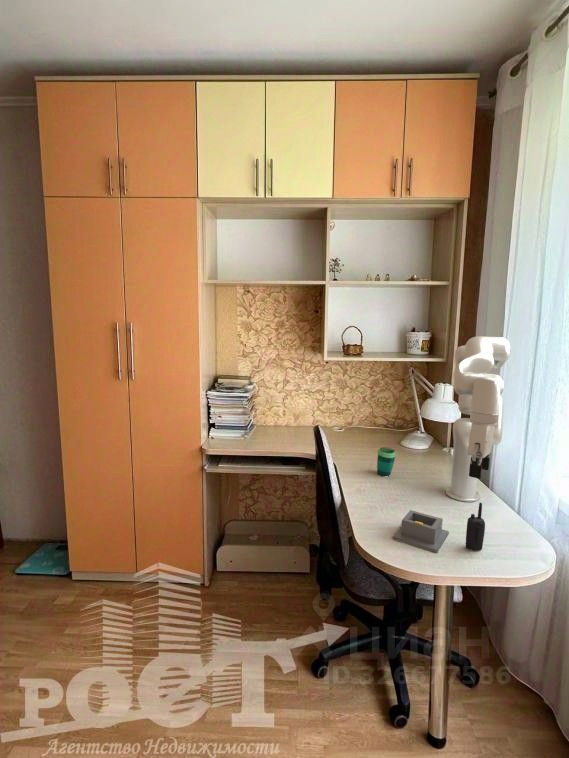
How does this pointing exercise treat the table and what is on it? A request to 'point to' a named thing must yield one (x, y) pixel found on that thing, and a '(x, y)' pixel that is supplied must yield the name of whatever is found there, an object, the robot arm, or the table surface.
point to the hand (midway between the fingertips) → (478, 473)
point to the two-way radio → (475, 531)
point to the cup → (385, 461)
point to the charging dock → (422, 531)
